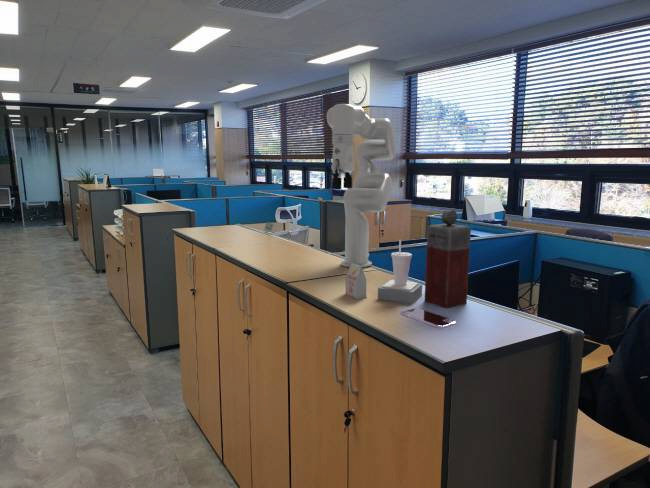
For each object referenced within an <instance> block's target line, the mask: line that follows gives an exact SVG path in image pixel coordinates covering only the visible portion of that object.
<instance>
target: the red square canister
mask: <svg viewBox="0 0 650 488" xmlns="http://www.w3.org/2000/svg"><path fill="white" fill-rule="evenodd" d="M441 220H442V222H443V223H438V224H430V225H428V226H427V233H426V258H425V259H426V261H425V280H424V281H425V282H424V302H426V303H430V304H432V305H435V306H437V307H441V308H444V309H449V308H453V307H454V308H455V307H457V306H462V305H466V304H467V300H468V287H469V286H468V284H469V270H470V269H469V268H470V267H469V265H470V250H471V249H470V248H471V234H472V233H471V232H472V230H471V229H472V228H471V227H470V226H468V225H464V224H463V225H462V224H456V222H457V220H458V214H457V212H456V211H455V210H454V209H445V210H444V211H443V212H442V214H441Z"/></svg>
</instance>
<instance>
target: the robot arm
mask: <svg viewBox="0 0 650 488" xmlns="http://www.w3.org/2000/svg"><path fill="white" fill-rule="evenodd" d="M326 121H327V124H328V126H329V127H330V128H331V129H332V143H331V144H332V146H333V147H332V156H331V157H332V159H331V161H332V162H331V166H330V168H331V174H332V175H331V178H332V190H342V174H343V175H344V177H343V188H344V189H347V190H345V192H344V194H343V207H344V214H345V225H344V226H345V227H344V230H345V231H344V232H345V233H344V235H345V239H344V242H345V243H344V244H345V245H344V246H345V247H344V260H342V261H341V262H340V264H341V266H343V267H346V268H349V267H350V263H353V264H356V265H358V266H361V267H362V269H364V268H369V266H370V267H371V266H372V264H373V262H372V261H370V260H369V257H370V253H369V236H370V235H369V233H370V232H369V231H370V229H369V228H370V224H369V220H368V217H367V216H366V215H365V214H364V213H382V212H384V211H385V210H386V208H387V205H388V202H389V199H390V195H391V193H392V192H391V191H392V187H393V180H392V177H391V175H390V174H388V173H386V172H379V169H378V167H377V166H376V164H375V163H374V162H373V161H391V160H394V158H395V157H396V155H397V145H396V139H395V132H394V128H393V125H392V122H391V120H390V119H389V118H384V117H382V118H381V117H380V118H371V117H370V116H369V115H367V114H366V111H365V110H364V108H362V106H360V105H359V106H358V105H352V104H350V103H337V104H334V105H333V107H330V108H329V109H328V110H327V112H326ZM354 135H357V136H358V137H360V138H361V139H365V141H361V142H359V143H358V145H357V147H356V161H357V166H358V171H357V173H356V175H355V178H354V179H353V176H354V175H353V173H354V171H355V152H354V151H355V150H354V144H355V143H354V141H355V139H354Z"/></svg>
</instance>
